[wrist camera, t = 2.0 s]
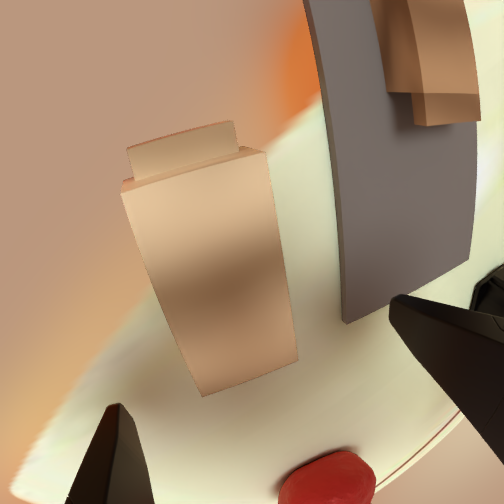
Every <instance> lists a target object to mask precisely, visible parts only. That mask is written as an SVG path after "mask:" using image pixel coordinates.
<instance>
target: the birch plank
mask: <svg viewBox="0 0 504 504" xmlns="http://www.w3.org/2000/svg"><path fill="white" fill-rule="evenodd" d="M127 154H128V157H129V161H130V165H131V168H132V172H133V175H134V177H131V178H128V179H126V180H124V181H123V185H122V189H121V193H120V194H121V197H122V200H123V204H124V207H125V210H126V213H127V216H128V219H129V222H130V225H131V228H132V231H133V234H134V237H135V239H136V242H137V245H138V248H139V251H140V253H141V256H142V259H143V261H144V264H145V267H146V270H147V272H148V275H149V277H150V280H151V283H152V285H153V288H154V290H155V293H156V295H157V298H158V300H159V303H160V305H161V308H162V310H163V312H164V315H165V317H166V320H167V322H168V324H169V327H170V329H171V331H172V334H173V336H174V338H175V340H176V343H177V345H178V347H179V349H180V352H181V354H182V356H183V358H184V360H185V362H186V365H187V367H188V369H189V371H190V373H191V375H192V377H193V379H194V381H195V384H196V386H197V388H198V390H199V392H200V394H201V396H202V397H204V396H207V395H210V394H213V393H216V392H219V391H222V390H224V389H227V388H230V387H233V386H235V385H238V384H241V383H244V382H246V381H249V380H251V379H254V378H257V377H259V376H262V375H264V374H267V373H269V372H272V371H274V370H277V369H279V368H282V367H284V366H286V365H289V364H291V363H293V362H296V361H298V355H297V347H296V340H295V333H294V326H293V319H292V312H291V305H290V299H289V292H288V285H287V279H286V272H285V266H284V259H283V253H282V247H281V241H280V234H279V228H278V222H277V216H276V210H275V204H274V198H273V193H272V187H271V181H270V175H269V170H268V164H267V159H266V153H265V152H263V151H259V150H256V149H252V148H248V147H245V146H240V147H238V143H237V138H236V133H235V128H234V123H233V121H222V122H217V123H213V124H209V125H205V126H200V127H196V128H193V129H189V130H185V131H181V132H177V133H174V134H170V135H167V136H163V137H160V138H156V139H153V140H149V141H146V142H143V143H140V144H136V145H134V146H130V147H128V148H127Z"/></svg>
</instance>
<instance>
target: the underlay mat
mask: <svg viewBox="0 0 504 504" xmlns="http://www.w3.org/2000/svg"><path fill="white" fill-rule="evenodd" d="M303 4H304V8H305V12H306V17H307V21H308V26H309V30H310V35H311V39H312V45H313V50H314V55H315V59H316V65H317V71H318V76H319V82H320V88H321V94H322V100H323V106H324V113H325V120H326V126H327V134H328V141H329V149H330V157H331V165H332V174H333V183H334V193H335V203H336V214H337V226H338V240H339V255H340V272H341V295H342V320H343V321H344V323H345V324H346V325H347V324H349V323H351V322H354V321H356V320H358V319H360V318H362V317H364V316H366V315H368V314H370V313H372V312H374V311H376V310H378V309H380V308H382V307H384V306H386V305H388V304H390V300H391V298H392V297H394V296H396V295H398V294H405V295H407V294H409V293H411V292H413V291H415V290H416V289H418V288H420V287H422V286H424V285H425V284H427V283H429V282H431V281H433V280H434V279H436V278H438V277H440V276H441V275H443V274H445V273H447V272H448V271H450V270H452V269H453V268H455V267H457V266H458V265H460V264H462V263H463V262H465V261H467V260H468V259H469V254H470V247H471V239H472V231H473V222H474V211H475V198H476V180H477V125H476V121H473V122H462V123H451V124H442V125H433V126H422V125H415V124H414V116H413V106H412V97H411V93H408V92H386V84H385V78H384V71H383V65H382V59H381V53H380V48H379V42H378V37H377V32H376V28H375V23H374V18H373V14H372V10H371V5H370V1H369V0H303Z"/></svg>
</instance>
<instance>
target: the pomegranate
mask: <svg viewBox="0 0 504 504" xmlns="http://www.w3.org/2000/svg"><path fill="white" fill-rule="evenodd" d="M375 485H376V477H375V475H374V472H373V470H372V468H371V467H370V466H369V465H368V464H367V463H366V462H364V461H363V460H362V459H361V458H360V457H359V456H358V455H356V454H354V453H352V452H348V451H340V452H335V453H333V454H330V455H327V456H325V457H322V458H320V459H318V460H316V461H314V462H312V463H310V464H308V465H306V466H304V467H301V468H299V469H297V470H296V471H294V472H293V473H292V474H291V475H290V476H289V477H288V478H287V480H286V481H285V483H284V484H283V486H282V487H281V490H280V493H279V497H278V504H371V500H372V498H373V495H374V492H375Z"/></svg>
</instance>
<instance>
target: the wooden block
mask: <svg viewBox="0 0 504 504" xmlns="http://www.w3.org/2000/svg"><path fill="white" fill-rule="evenodd" d="M369 1H370V5H371V10H372V14H373V18H374V23H375V28H376V32H377V37H378V42H379V48H380V53H381V59H382V65H383V71H384V78H385V84H386V92H408V93H411V97H412V106H413V116H414V124H415V125H422V126H433V125H442V124H451V123H462V122H473V121H481V112H480V98H479V87H478V78H477V70H476V62H475V55H474V49H473V43H472V38H471V33H470V28H469V23H468V18H467V14H466V10H465V6H464V2H463V0H369Z"/></svg>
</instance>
